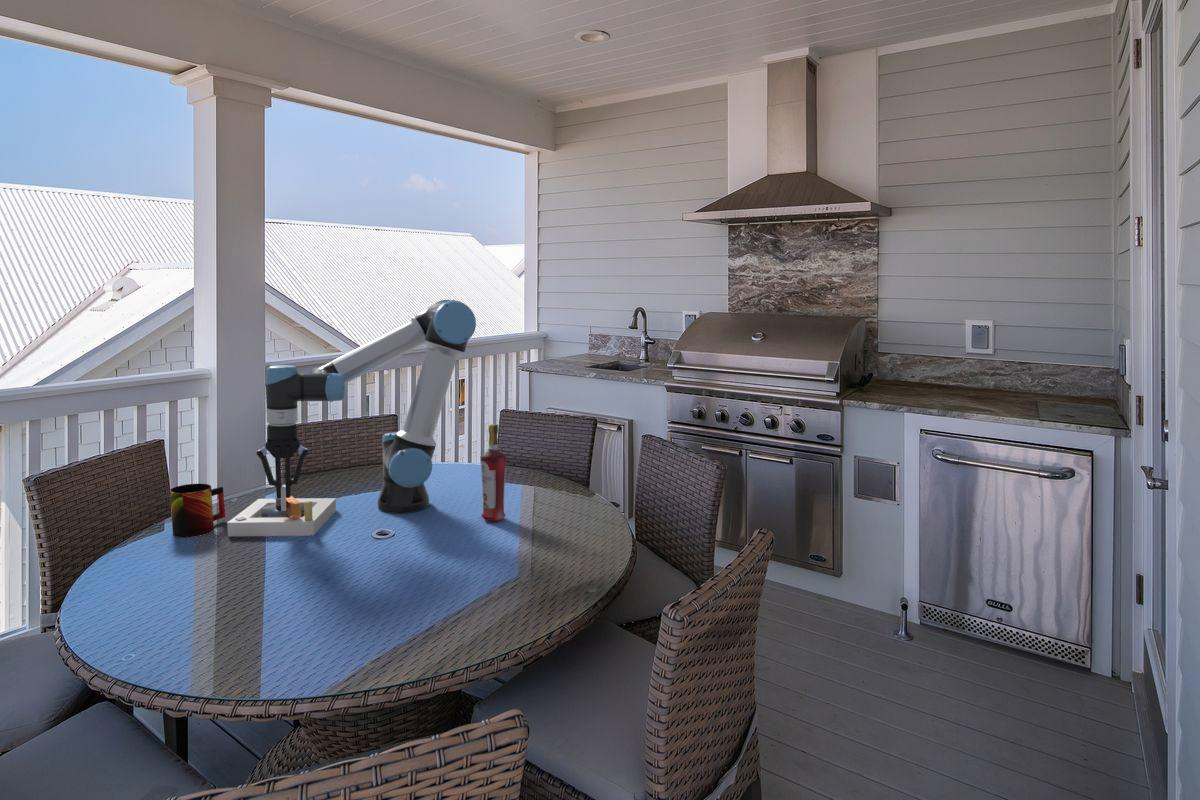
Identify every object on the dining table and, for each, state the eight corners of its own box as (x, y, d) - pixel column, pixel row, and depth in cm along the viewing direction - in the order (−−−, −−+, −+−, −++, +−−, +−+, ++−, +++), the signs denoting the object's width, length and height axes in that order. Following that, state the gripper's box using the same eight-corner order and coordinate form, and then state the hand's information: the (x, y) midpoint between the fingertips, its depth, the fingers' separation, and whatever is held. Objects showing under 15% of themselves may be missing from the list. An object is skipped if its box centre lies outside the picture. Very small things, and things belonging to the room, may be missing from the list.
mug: (226, 520, 202) (223, 479, 200) (204, 537, 189) (201, 493, 187) (190, 521, 201) (187, 479, 199) (165, 537, 188) (162, 493, 186)
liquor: (475, 519, 207) (475, 424, 203) (495, 514, 213) (495, 421, 208) (491, 525, 202) (491, 428, 198) (511, 520, 208) (511, 425, 203)
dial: (256, 513, 202) (255, 492, 201) (300, 506, 209) (299, 486, 208) (273, 529, 189) (272, 507, 188) (319, 521, 196) (318, 499, 195)
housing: (336, 510, 213) (335, 481, 212) (313, 535, 191) (312, 503, 190) (259, 511, 211) (258, 482, 210) (228, 536, 189) (226, 504, 188)
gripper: (254, 426, 184) (256, 515, 188) (307, 425, 189) (309, 511, 192) (256, 421, 191) (259, 507, 195) (308, 420, 196) (309, 503, 199)
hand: (283, 509), depth 193 cm, fingers closed
